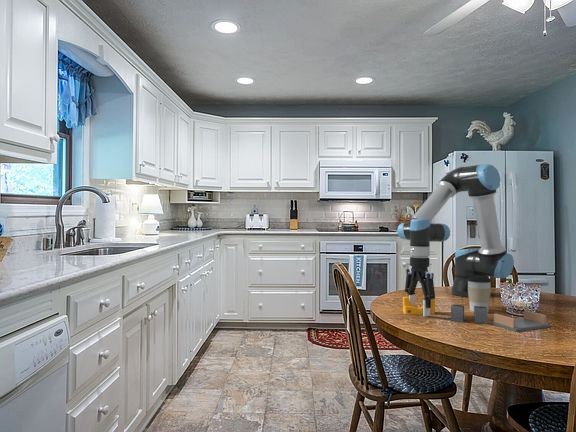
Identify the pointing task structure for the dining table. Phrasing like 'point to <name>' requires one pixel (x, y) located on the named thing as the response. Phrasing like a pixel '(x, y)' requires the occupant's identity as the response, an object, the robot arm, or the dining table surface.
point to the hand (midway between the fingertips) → (419, 313)
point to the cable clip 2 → (480, 314)
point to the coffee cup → (479, 291)
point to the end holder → (521, 321)
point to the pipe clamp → (414, 310)
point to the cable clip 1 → (457, 313)
